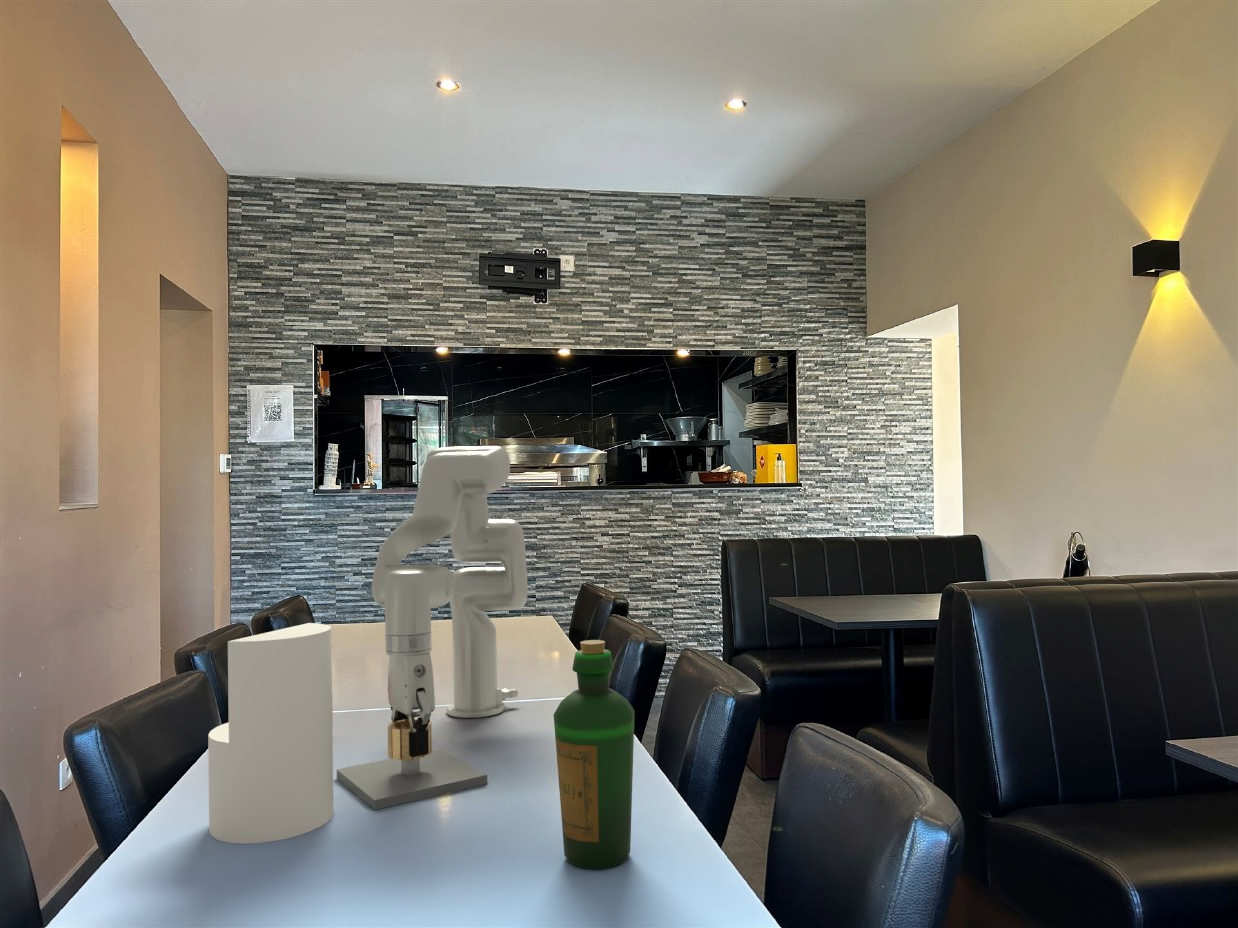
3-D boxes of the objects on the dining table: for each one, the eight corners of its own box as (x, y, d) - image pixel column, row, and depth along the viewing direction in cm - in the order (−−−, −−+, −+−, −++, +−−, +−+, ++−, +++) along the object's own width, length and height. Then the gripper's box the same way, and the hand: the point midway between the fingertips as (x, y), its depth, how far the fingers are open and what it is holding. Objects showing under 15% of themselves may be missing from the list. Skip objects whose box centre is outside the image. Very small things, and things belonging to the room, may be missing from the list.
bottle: (556, 843, 119) (551, 636, 120) (633, 838, 120) (629, 634, 121) (557, 877, 109) (552, 650, 110) (642, 872, 110) (637, 647, 111)
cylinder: (357, 805, 136) (354, 624, 137) (280, 849, 120) (277, 643, 121) (267, 795, 142) (264, 621, 143) (181, 835, 125) (179, 639, 126)
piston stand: (441, 756, 160) (440, 715, 161) (487, 783, 145) (486, 737, 145) (336, 778, 149) (336, 733, 150) (374, 809, 134) (373, 760, 134)
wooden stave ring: (422, 745, 152) (421, 716, 152) (438, 754, 146) (437, 724, 146) (382, 752, 148) (382, 722, 148) (397, 762, 142) (397, 731, 142)
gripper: (450, 647, 143) (452, 757, 142) (410, 634, 157) (412, 735, 156) (406, 653, 139) (407, 766, 138) (369, 639, 153) (370, 742, 152)
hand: (410, 749), depth 147 cm, fingers closed on wooden stave ring, 7 cm apart
